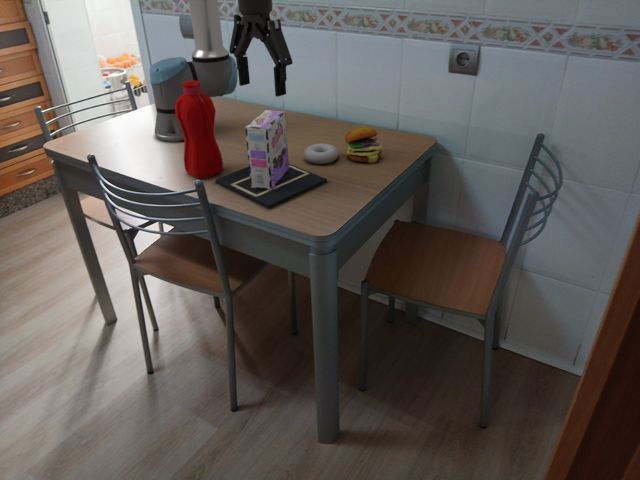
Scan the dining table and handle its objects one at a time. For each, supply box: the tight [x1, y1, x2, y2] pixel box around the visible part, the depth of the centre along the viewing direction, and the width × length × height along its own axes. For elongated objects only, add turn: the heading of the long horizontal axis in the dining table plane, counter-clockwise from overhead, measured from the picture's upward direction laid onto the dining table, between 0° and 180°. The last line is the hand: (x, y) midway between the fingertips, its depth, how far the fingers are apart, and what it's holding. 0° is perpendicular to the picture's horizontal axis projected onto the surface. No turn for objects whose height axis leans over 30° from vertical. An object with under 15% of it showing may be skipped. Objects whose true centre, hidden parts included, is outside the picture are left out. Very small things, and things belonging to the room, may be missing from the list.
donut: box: [303, 143, 340, 165], centre depth 150 cm, size 10×3×10 cm
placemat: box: [215, 163, 328, 210], centre depth 138 cm, size 22×20×1 cm
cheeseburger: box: [344, 126, 383, 164], centre depth 149 cm, size 10×11×10 cm
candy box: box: [244, 109, 290, 190], centre depth 133 cm, size 14×6×16 cm, turn 164°
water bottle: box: [175, 80, 224, 180], centre depth 138 cm, size 9×11×25 cm
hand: (262, 89), depth 126 cm, fingers open, 13 cm apart
